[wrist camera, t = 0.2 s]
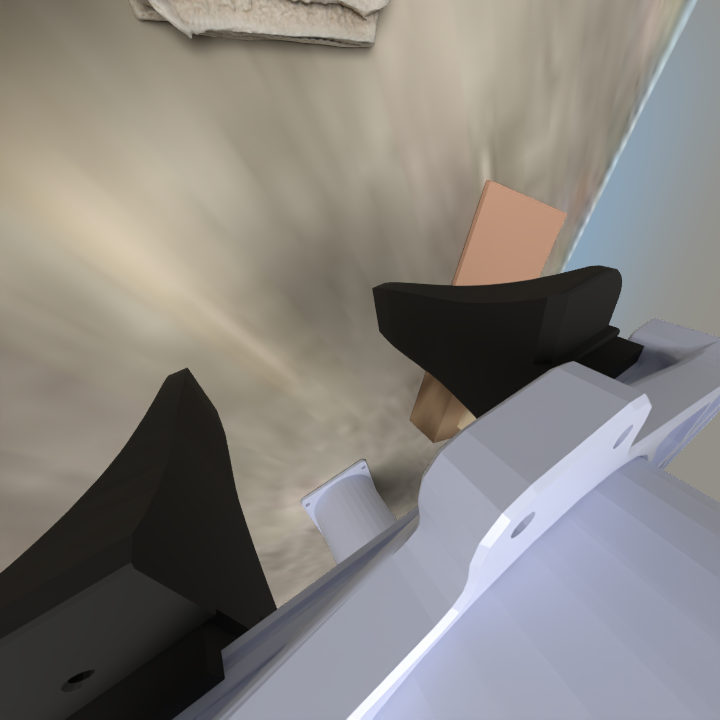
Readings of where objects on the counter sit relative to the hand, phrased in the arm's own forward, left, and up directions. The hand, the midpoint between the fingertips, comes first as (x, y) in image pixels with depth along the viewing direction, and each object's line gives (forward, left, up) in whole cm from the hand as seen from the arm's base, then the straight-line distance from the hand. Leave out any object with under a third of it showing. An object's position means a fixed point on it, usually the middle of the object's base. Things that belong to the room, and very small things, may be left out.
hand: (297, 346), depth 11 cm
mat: (-8, -24, -10) cm, 27 cm away
